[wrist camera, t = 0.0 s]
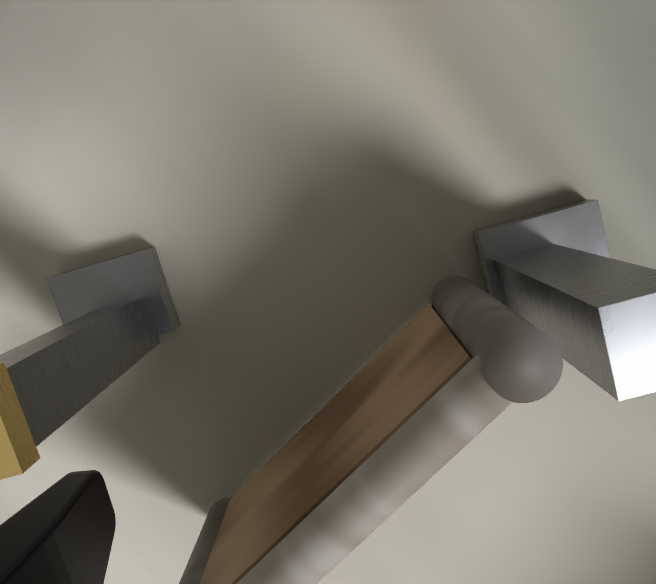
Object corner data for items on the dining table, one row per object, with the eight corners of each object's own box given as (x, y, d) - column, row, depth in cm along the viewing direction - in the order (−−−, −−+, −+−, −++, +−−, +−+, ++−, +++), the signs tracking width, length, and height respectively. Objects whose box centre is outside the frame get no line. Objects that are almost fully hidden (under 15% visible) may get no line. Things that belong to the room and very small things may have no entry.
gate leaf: (456, 265, 23) (526, 312, 14) (489, 298, 23) (578, 365, 14) (198, 519, 25) (120, 698, 16) (231, 548, 25) (171, 741, 16)
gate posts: (571, 126, 23) (785, 66, 12) (610, 309, 24) (841, 412, 13) (58, 274, 24) (-180, 345, 13) (118, 441, 25) (-56, 636, 14)
